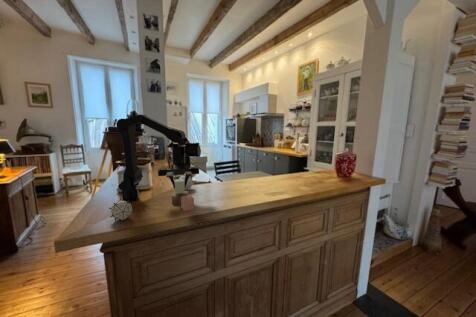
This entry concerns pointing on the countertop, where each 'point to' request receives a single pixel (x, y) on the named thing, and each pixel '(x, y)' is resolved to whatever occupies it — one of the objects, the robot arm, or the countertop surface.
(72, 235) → the countertop surface
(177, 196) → the walnut base
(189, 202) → the terracotta block
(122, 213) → the game die
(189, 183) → the die
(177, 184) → the sage block
